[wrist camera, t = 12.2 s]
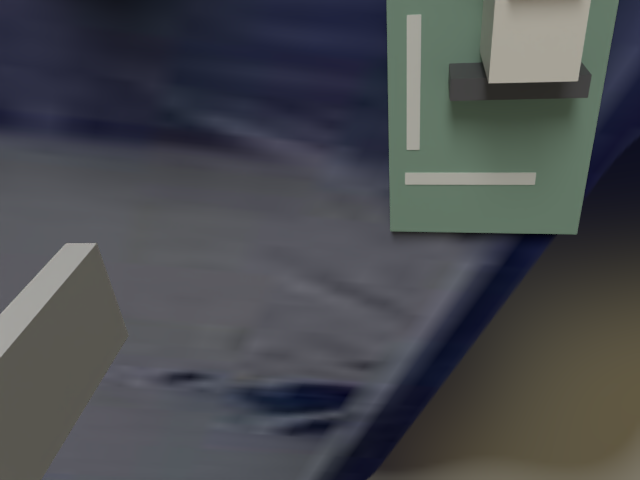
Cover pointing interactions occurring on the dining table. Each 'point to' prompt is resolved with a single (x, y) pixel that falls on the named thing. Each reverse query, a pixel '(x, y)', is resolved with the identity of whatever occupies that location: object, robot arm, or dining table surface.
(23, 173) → the dining table surface
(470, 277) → the dining table surface
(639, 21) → the dining table surface
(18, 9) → the dining table surface
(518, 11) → the plug
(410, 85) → the board
